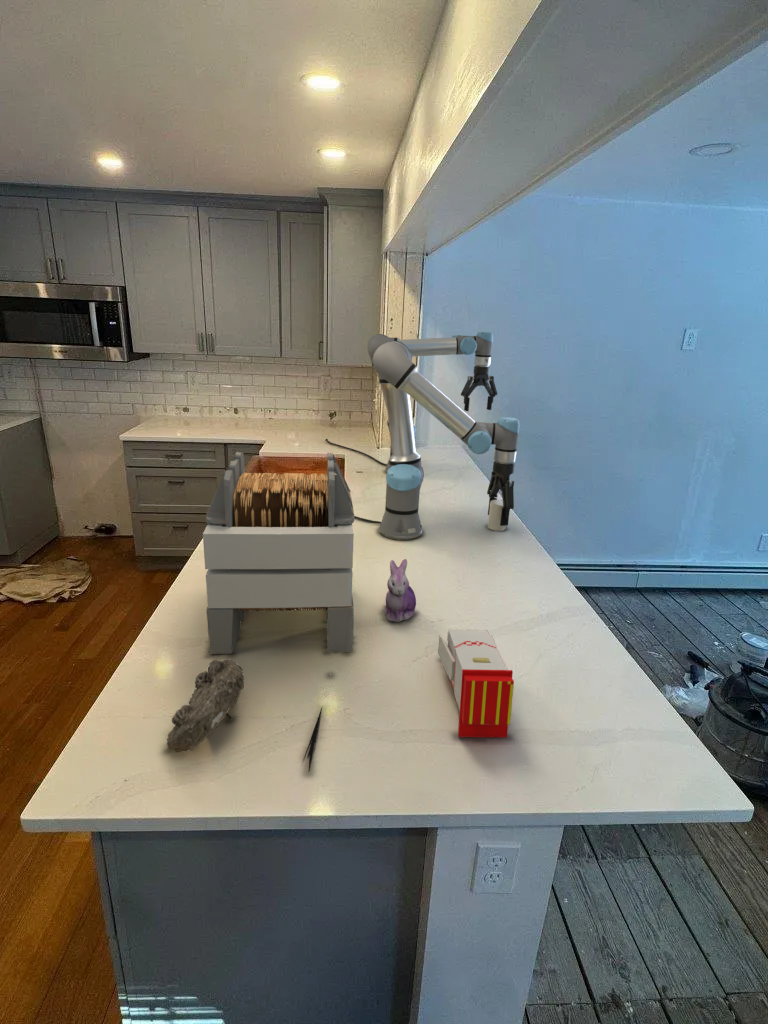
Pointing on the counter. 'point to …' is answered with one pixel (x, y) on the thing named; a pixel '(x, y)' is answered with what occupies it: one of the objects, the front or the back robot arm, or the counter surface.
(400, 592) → the figurine
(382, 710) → the counter surface
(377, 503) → the counter surface
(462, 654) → the toy
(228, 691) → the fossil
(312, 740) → the feather
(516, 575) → the counter surface
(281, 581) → the record storage crate
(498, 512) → the cylinder
